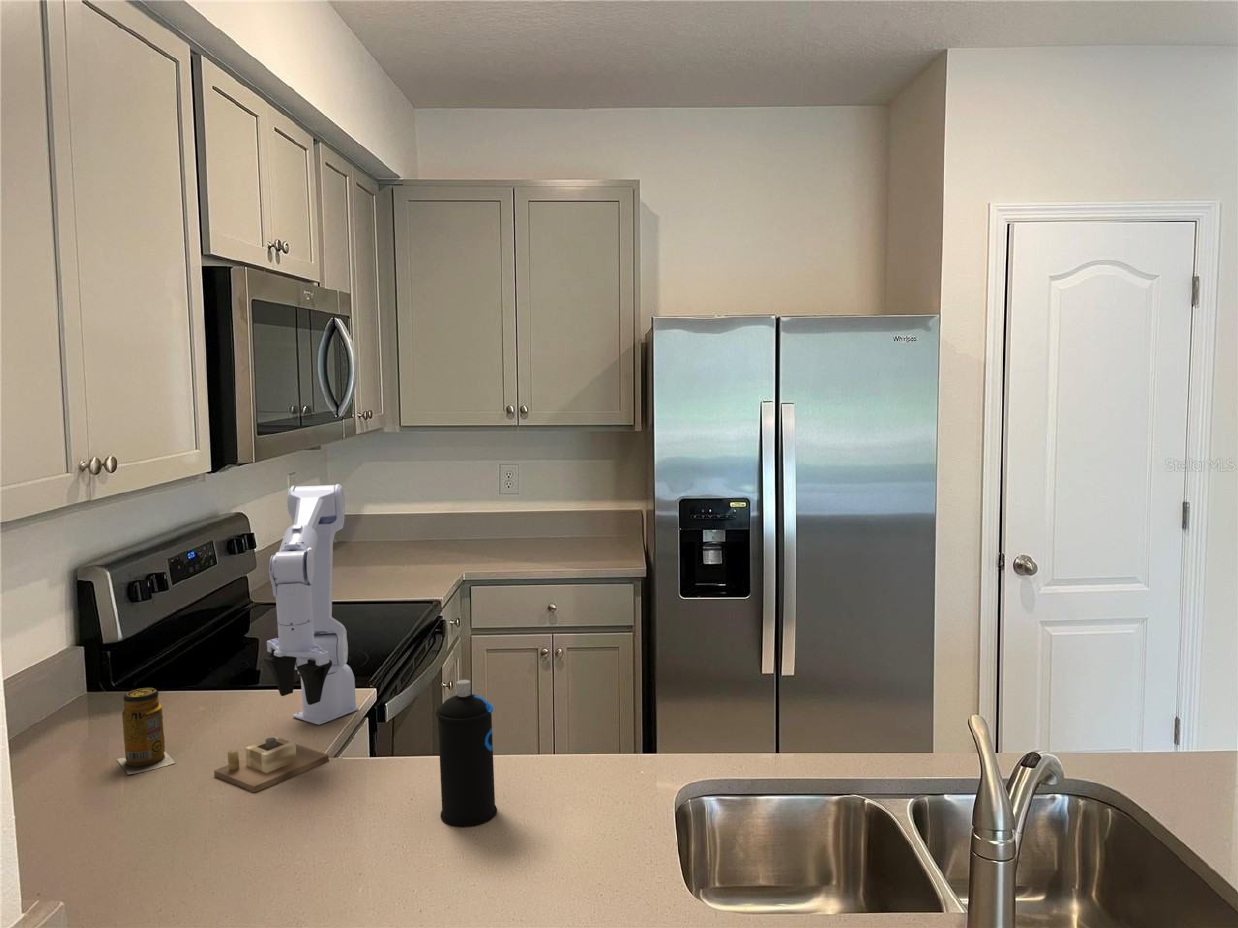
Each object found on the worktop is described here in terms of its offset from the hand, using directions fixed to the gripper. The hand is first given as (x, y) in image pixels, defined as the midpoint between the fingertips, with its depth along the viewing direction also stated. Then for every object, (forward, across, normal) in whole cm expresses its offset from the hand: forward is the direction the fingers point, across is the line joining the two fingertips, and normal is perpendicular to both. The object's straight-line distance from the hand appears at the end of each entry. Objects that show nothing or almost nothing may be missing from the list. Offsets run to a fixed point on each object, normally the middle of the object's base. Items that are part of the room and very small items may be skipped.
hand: (300, 698), depth 160 cm
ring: (+9, +1, -7) cm, 11 cm away
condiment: (+10, -20, -17) cm, 28 cm away
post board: (+10, +1, -7) cm, 12 cm away
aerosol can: (+10, +40, 0) cm, 41 cm away
